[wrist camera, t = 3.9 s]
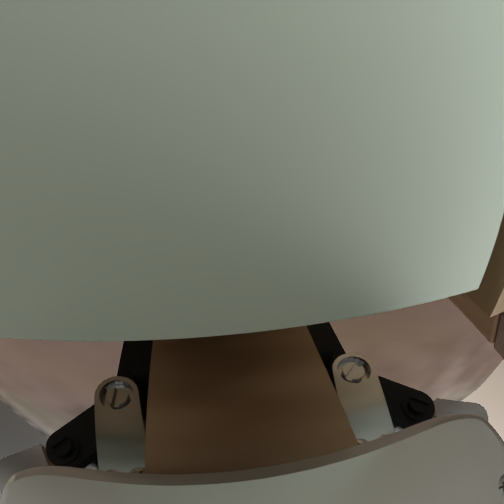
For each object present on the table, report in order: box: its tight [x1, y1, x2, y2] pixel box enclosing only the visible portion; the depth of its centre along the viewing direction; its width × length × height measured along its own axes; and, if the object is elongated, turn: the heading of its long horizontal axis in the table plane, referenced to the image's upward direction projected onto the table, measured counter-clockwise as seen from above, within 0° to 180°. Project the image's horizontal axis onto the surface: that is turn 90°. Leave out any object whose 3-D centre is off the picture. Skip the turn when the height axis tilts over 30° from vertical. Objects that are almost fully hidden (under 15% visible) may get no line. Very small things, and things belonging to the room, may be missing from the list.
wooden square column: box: [145, 326, 359, 474], centre depth 9 cm, size 5×5×12 cm
